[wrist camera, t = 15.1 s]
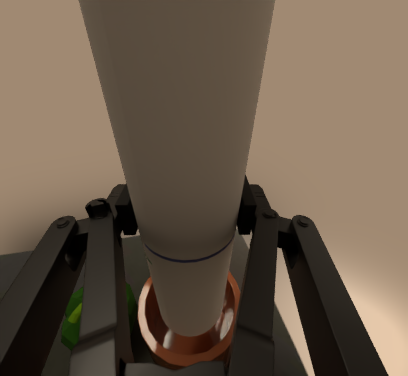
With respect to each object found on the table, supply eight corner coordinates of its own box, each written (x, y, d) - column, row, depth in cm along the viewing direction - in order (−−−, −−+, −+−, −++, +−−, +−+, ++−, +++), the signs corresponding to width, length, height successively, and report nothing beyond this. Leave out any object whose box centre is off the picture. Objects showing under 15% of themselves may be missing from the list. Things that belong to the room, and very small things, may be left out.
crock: (134, 331, 28) (117, 299, 22) (193, 276, 35) (192, 240, 29) (189, 418, 21) (187, 406, 15) (248, 329, 28) (261, 297, 22)
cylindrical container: (199, 354, 18) (206, -92, 3) (145, 307, 21) (27, -29, 6) (234, 290, 23) (300, -7, 8) (186, 259, 26) (171, 5, 11)
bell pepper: (122, 287, 33) (106, 251, 27) (152, 325, 28) (141, 291, 23) (68, 332, 27) (34, 298, 22) (95, 386, 23) (61, 363, 17)
